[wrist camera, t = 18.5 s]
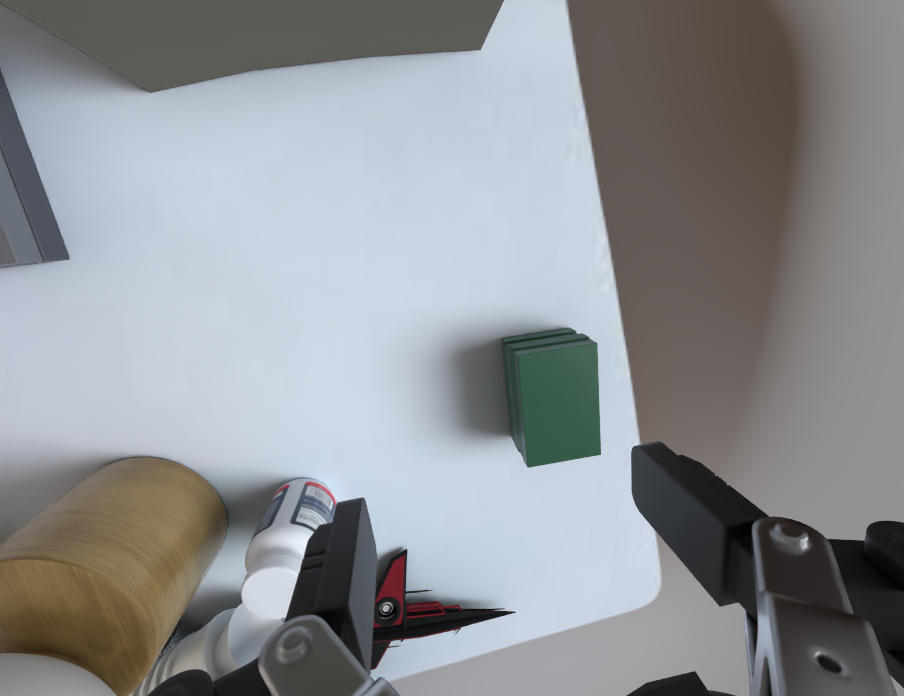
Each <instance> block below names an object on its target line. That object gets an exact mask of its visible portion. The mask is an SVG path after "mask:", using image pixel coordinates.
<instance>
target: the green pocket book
mask: <svg viewBox="0 0 904 696" xmlns="http://www.w3.org/2000/svg"><path fill="white" fill-rule="evenodd" d="M513 353H514V364H515V375H516V386H517V397H518V408H519V419H520V430H521V441H522V452H523V460H524V462H525V463H526V465H527V467H534V466H539V465H545V464H551V463H556V462H562V461H568V460H573V459H579V458H585V457H591V456H596V455H601V443H600V413H599V383H598V353H597V343H596V342H594V341H593V340H591V339H586V340H580V341H573V342H567V343H560V344H554V345H547V346H541V347H534V348H528V349H522V350H515V351H513Z"/></svg>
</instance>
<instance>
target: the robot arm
mask: <svg viewBox="0 0 904 696" xmlns="http://www.w3.org/2000/svg"><path fill="white" fill-rule="evenodd" d="M631 470H632V495H633V499H634V502H635V504H636V506H637V508H638V510H639V512H640V513H641V514H642V515H643V516H644V518H645V519H646V520H647V521H648V522H649V523H650V525H651V526H652V527H653V528H654V529H655V531H656V532H657V533H658V534H659V535H660V536H661V537H662V539H663V540H664V541H665V542H666V544H667V545H668V546H669V547H670V548H671V549H672V551H673V552H674V553H675V554H676V555H677V556H678V558H679V559H680V560H681V561H682V562H683V564H684V565H685V566H686V567H687V568H688V569H689V571H690V572H691V573H692V574H693V575H694V577H695V578H696V579H697V580H698V581H699V582H700V584H701V585H702V586H703V587H704V588H705V590H706V591H707V592H708V593H709V594H710V595H711V597H712V598H713V599H714V600H715V601H716V603H717V604H718V605H719V606H725V605H729V604H733V603H738V602H739V603H740V604H741V605H742V607H743V608H744V609H745V613H744V627H745V640H746V652H747V666H748V679H749V691H750V692H749V693H750V696H897V693H896V691H895V688H894V685H893V682H892V680H891V677H890V675H891V676H892V677H893V678H894V679H895V680H896V681H897V682H898V683H899V684H900V685H901V686H902V687H903V688H904V523H902V522H896V521H878V522H874V523H872V524H870V525H869V526H868V528H867V531H866V536H865V541H858V540H838V539H826V538H825V537H824V536H823V535H822V534H821V533H819V532H818V531H817V530H815V529H813V528H812V527H810V526H808V525H806V524H803V523H801V522H798V521H795V520H792V519H788V518H782V517H769V516H768V515H767V514H766V513H764V512H763V511H762V510H760V509H759V508H758V507H757V506H755V505H754V504H753V503H751V502H750V501H749V500H748V499H746V498H745V497H744V496H742V495H741V494H740V493H739V492H737V491H736V490H735V489H733V488H732V487H731V486H730V485H728V486H727V484H726V482H725V481H723V480H722V479H721V478H719V477H718V476H715V474H714V473H713V472H712V471H710V470H709V469H708V468H707V467H705V466H704V465H703V464H701V463H700V462H697V461H695V460H693V459H691V458H688V457H686V456H684V455H676V454H675V453H674V452H673V451H672V450H670V449H669V448H668V447H667V446H666V445H664V444H663V443H661V442H653V443H648V444H643V445H638V446H634V447H633V448H632V452H631ZM376 573H377V553H376V545H375V539H374V535H373V531H372V527H371V522H370V518H369V514H368V509H367V505H366V501H365V499H364V498H358V499H353V500H347V501H342V502H338V503H337V504H336V508H335V513H334V517H333V522H331V523H326V524H321V525H319V526H318V528H317V529H316V530H315V532H314V533H313V534H312V536H311V537H310V538H309V539H308V542H307V546H306V549H305V553H304V558H303V560H302V563H301V567H300V572H299V574H298V577H297V581H296V584H295V588H294V591H293V595H292V598H291V602H290V605H289V609H288V612H287V616H286V619H285V623H284V624H283V625H281V626H280V627H279V628H277V629H276V630H275V631H274V632H273V633H272V634H271V635H270V636H269V638H268V639H267V640H266V642H265V643H264V645H263V647H262V649H261V651H260V654H259V657H257V658H256V659H254V660H253V661H252V662H250V663H248V664H246V665H245V666H243V667H241V668H239V669H237V670H235V671H233V672H231V673H229V674H227V675H225V676H223V677H221V678H219V679H217V680H215V681H212V679H211V677H210V675H209V674H208V673H207V672H205V671H204V670H200V669H191V670H186V671H183V672H180V673H178V674H176V675H174V676H172V677H170V678H168V679H167V680H165V681H164V682H162V683H161V684H160V685H158V686H157V687H156V688H155V689H153V690H152V691H151V692H150V693H149V694H148V695H147V696H400V695H399V694H398V693H397V691H396V690H395V689H394V688H393V687H392V686H391V685H390V684H389V682H388V681H387V680H385V679H384V678H382V677H379V678H378V679H377V680H376V681H375V680H373V679H372V678H371V677H370V670H371V654H372V638H373V622H374V606H375V589H376ZM627 696H735V695H731V694H728V693H722V692H717V691H709V690H707V688H706V687H705V685H704V684H703V683H702V681H701V680H700V678H699V677H698V675H697V673H696V672H695V671H694V672H690V673H686V674H681V675H677V676H673V677H669V678H665V679H661V680H656V681H652V682H648V683H646V684H644V685H643V686H641V687H640V688H638V689H637V690H635V691H633V692H632V693H630V694H629V695H627Z"/></svg>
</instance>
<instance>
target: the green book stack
mask: <svg viewBox="0 0 904 696" xmlns="http://www.w3.org/2000/svg"><path fill="white" fill-rule="evenodd" d="M586 339H589V337H588V336H586V335H584V334H577V333H576V331H575V330H573V329H571V328H565V329H558V330H551V331H545V332H538V333H532V334H525V335H518V336H512V337H505V338H502V347H503V358H504V368H505V378H506V388H507V399H508V409H509V419H510V430H511V437H512V439H513V441H514V443H515V446H516V448H517V449H518V451H519V452H520V453H521V455H522V457H523V452H522V441H521V430H520V419H519V408H518V397H517V386H516V375H515V364H514V353H513V351H515V350H522V349H528V348H534V347H541V346H547V345H554V344H560V343H567V342H573V341H580V340H586Z"/></svg>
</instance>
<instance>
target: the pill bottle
mask: <svg viewBox="0 0 904 696" xmlns="http://www.w3.org/2000/svg"><path fill="white" fill-rule="evenodd" d="M336 504H337V499H336V497H335V495H334V493H333V492H332V490H331V489H330V488H329V487H328V486H326V485H325V484H323V483H322V482H319V481H317V480H313V479H296V480H293V481H290V482H288V483H286V484H284V485H282V486H281V487H280V488H279V489H278V490H277V491H276V492H275V494H274V495H273V497H272V499H271V501H270V503H269V505H268V507H267V509H266V511H265V513H264V515H263V517H262V519H261V521H260V524H259V526H258V528H257V530H256V532H255V534H254V536H253V538H252V540H251V542H250V545H249V547H248V550H247V553H246V558H245V565H246V570H247V575H246V577H245V580H244V582H243V585H242V588H241V598H242V601H243V603H244V605H245V607H246V608H247V609H248V610H249V611H250V612H252V613H253V614H255V615H257V616H259V617H262V618H266V619H282V618H286V616H287V612H288V609H289V605H290V602H291V598H292V595H293V591H294V588H295V584H296V581H297V577H298V574H299V572H300V567H301V563H302V560H303V558H304V553H305V549H306V546H307V542H308V539H309V538H310V537H311V536H312V534H313V533H314V532H315V530H316V529H317V528H318V526H319V525H321V524H326V523H331V522H333V517H334V513H335V508H336Z"/></svg>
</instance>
